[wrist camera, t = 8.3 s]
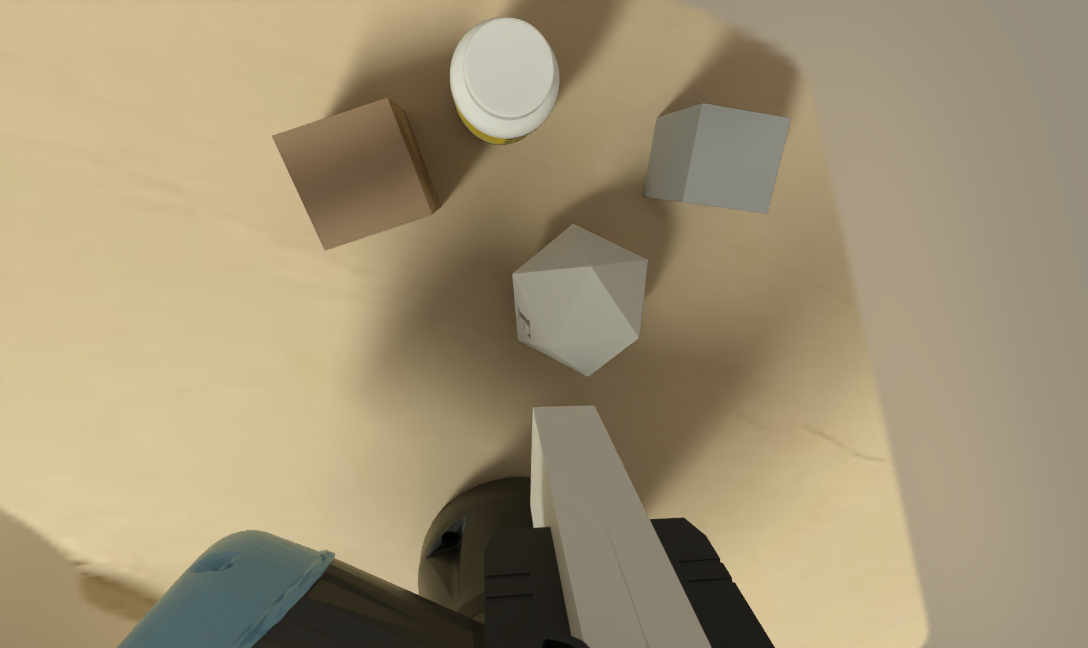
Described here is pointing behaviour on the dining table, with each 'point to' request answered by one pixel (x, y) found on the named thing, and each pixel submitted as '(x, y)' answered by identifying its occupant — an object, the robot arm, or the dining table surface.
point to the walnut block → (358, 172)
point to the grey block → (716, 157)
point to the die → (580, 299)
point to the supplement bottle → (504, 80)
